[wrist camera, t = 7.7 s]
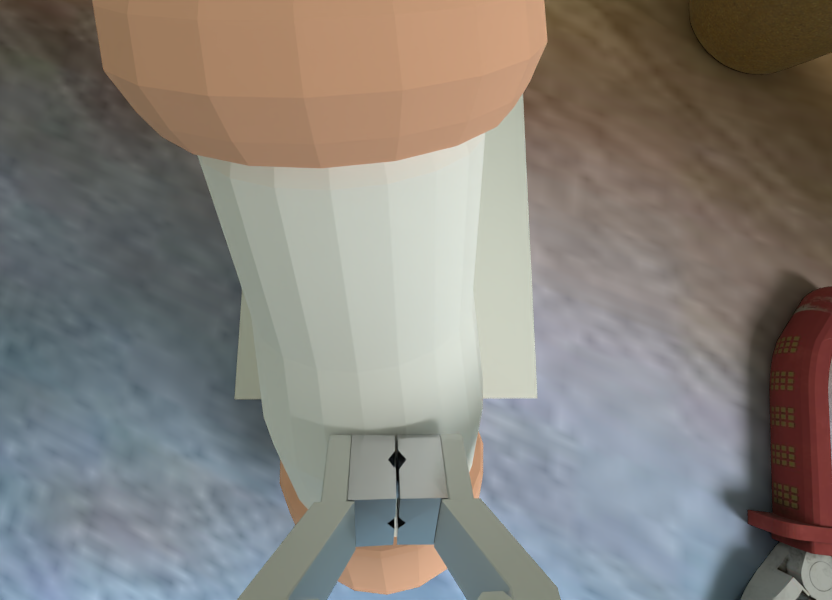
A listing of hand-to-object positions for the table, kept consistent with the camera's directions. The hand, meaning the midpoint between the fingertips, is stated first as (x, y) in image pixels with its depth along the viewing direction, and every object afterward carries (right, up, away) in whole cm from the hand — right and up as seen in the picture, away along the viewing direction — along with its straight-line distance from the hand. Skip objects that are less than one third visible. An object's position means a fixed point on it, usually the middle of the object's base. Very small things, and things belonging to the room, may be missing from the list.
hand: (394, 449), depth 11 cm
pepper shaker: (-1, -4, +8) cm, 9 cm away
